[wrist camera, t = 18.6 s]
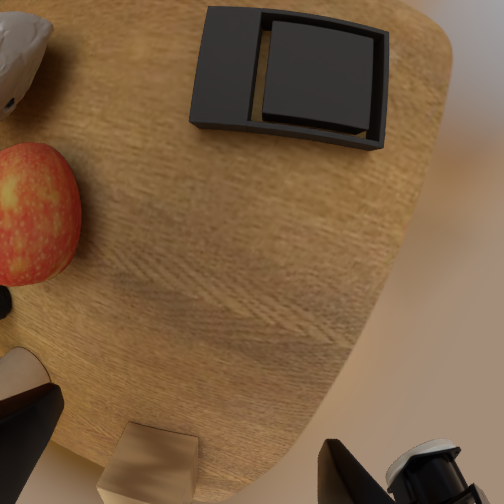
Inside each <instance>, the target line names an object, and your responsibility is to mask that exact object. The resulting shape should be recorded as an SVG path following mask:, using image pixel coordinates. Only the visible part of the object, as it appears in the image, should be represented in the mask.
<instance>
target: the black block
mask: <svg viewBox="0 0 504 504" xmlns="http://www.w3.org/2000/svg"><path fill="white" fill-rule="evenodd" d="M372 73H373V39H372V38H368V37H364V36H360V35H356V34H352V33H347V32H343V31H338V30H333V29H328V28H322V27H316V26H310V25H304V24H297V23H289V22H281V21H273V23H272V31H271V39H270V47H269V56H268V64H267V72H266V81H265V89H264V98H263V106H262V119H263V121H270V122H279V123H287V124H294V125H301V126H308V127H314V128H321V129H326V130H332V131H338V132H343V133H348V134H354V135H357V134H359V133H362V132H364V131H367V130H368V129H369V121H370V108H371V92H372Z"/></svg>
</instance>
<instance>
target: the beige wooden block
mask: <svg viewBox="0 0 504 504" xmlns="http://www.w3.org/2000/svg"><path fill="white" fill-rule="evenodd" d="M197 478H198V437H194V436H189V435H184V434H178V433H174V432H169V431H164V430H160V429H155V428H151V427H147V426H143V425H139V424H135V423H131V422H128V424H127V426H126V428H125V430H124V432H123V434H122V436H121V438H120V440H119V442H118V443H117V445H116V447H115V449H114V451H113V453H112V455H111V457H110V459H109V461H108V463H107V465H106V467H105V470H104V471H103V474H102V475H101V478H100V480H99V482H98V484H97V486H96V487H97V490H98V492H99V494H100V496H101V498H102V500H103V502H104V504H192V501H193V496H194V492H195V487H196V483H197Z"/></svg>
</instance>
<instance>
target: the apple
mask: <svg viewBox="0 0 504 504" xmlns="http://www.w3.org/2000/svg"><path fill="white" fill-rule="evenodd" d="M81 220H82V209H81V201H80V196H79V190H78V187H77V183H76V180H75V177H74V175H73V172H72V170H71V168H70V166H69V164H68V163H67V161H66V160H65V158H64V157H63V156H62V155H61V154H60V153H59V152H58V151H57V150H55V149H54V148H52V147H51V146H49V145H47V144H44V143H20V144H17V145H14V146H11V147H8V148H6V149H4V150H2V151H0V285H3V286H7V287H12V286H24V285H28V284H35V283H41V282H43V281H46V280H49V279H52V278H54V277H55V276H57V275H58V274H59V273H61V272H62V271H63V270H64V269H65V268H66V267H67V266H68V265H69V263H70V262H71V260H72V258H73V256H74V253H75V251H76V248H77V245H78V241H79V236H80V231H81Z"/></svg>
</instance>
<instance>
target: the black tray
mask: <svg viewBox="0 0 504 504" xmlns="http://www.w3.org/2000/svg"><path fill="white" fill-rule="evenodd" d="M273 21H281V22H289V23H297V24H304V25H310V26H316V27H322V28H328V29H333V30H338V31H343V32H347V33H352V34H356V35H360V36H364V37H368V38H372V39H373V73H372V92H371V108H370V121H369V129H368V130H367V134H366V139H364V138H359V137H354V136H349V135H344V134H339V133H333V132H327V131H322V130H315V129H309V128H303V127H296V126H289V125H281V124H273V123H265V122H255V121H251V113H252V105H253V97H254V89H255V81H256V73H257V66H258V58H259V50H260V43H261V35H262V30H270V31H272V23H273ZM388 79H389V32H387V31H384V30H380V29H377V28H373V27H369V26H365V25H362V24H357V23H353V22H349V21H345V20H340V19H335V18H330V17H325V16H319V15H313V14H307V13H301V12H293V11H285V10H277V9H266V8H251V7H228V6H208V10H207V14H206V19H205V24H204V30H203V35H202V40H201V46H200V51H199V57H198V63H197V69H196V75H195V82H194V88H193V95H192V102H191V109H190V116H189V122H190V123H192V124H193V125H195V126H196V127H198V128H201V129H216V130H229V131H240V132H250V133H259V134H268V135H276V136H284V137H291V138H298V139H305V140H312V141H318V142H324V143H330V144H335V145H341V146H346V147H352V148H357V149H362V150H367V151H371V150H377V149H382V148H384V139H385V128H386V115H387V100H388Z"/></svg>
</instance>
